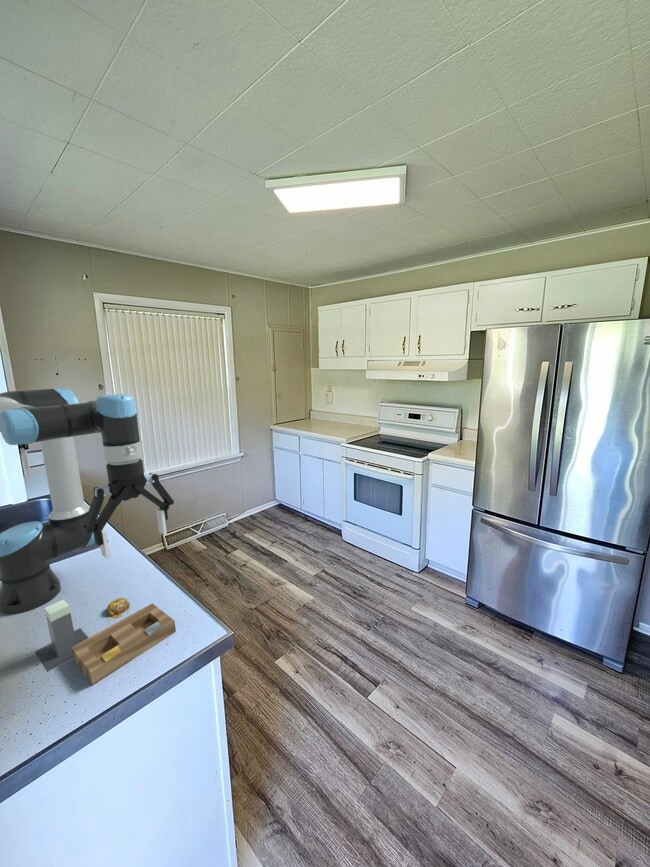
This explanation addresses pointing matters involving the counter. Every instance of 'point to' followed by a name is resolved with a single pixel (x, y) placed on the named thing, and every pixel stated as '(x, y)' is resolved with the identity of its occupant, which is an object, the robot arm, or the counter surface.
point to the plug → (60, 627)
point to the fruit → (117, 608)
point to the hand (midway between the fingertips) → (136, 544)
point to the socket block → (122, 642)
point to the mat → (51, 658)
